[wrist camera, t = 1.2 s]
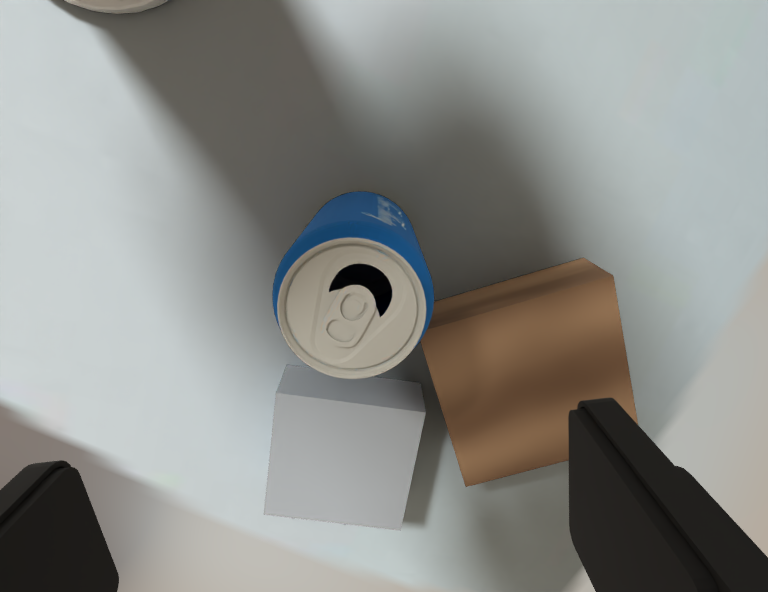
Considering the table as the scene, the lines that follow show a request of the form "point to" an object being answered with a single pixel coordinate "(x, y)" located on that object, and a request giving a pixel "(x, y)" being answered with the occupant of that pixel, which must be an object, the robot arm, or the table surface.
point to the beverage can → (354, 288)
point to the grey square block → (343, 448)
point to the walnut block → (525, 365)
